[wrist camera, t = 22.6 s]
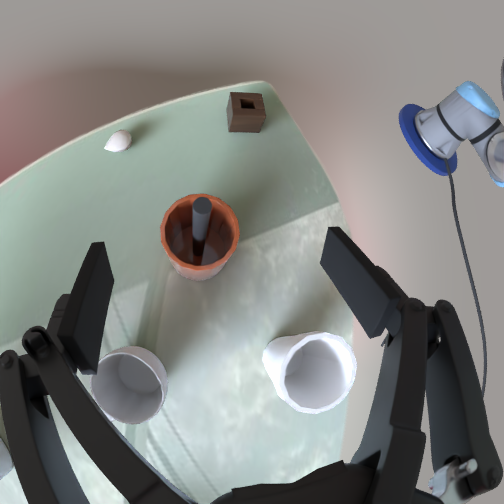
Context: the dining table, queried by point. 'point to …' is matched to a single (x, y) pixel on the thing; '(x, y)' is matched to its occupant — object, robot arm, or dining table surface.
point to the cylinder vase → (4, 460)
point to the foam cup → (311, 370)
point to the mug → (130, 385)
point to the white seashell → (119, 141)
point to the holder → (245, 112)
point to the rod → (200, 223)
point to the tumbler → (216, 245)
